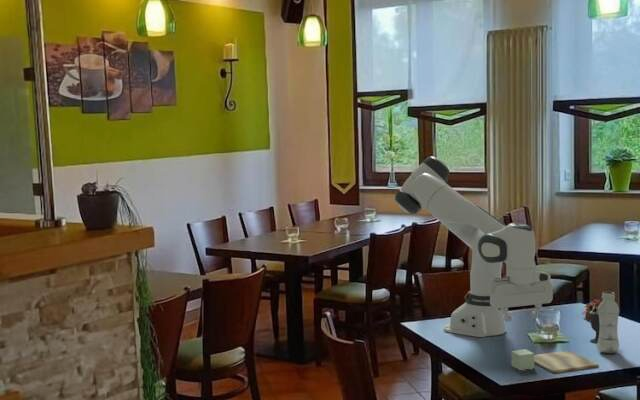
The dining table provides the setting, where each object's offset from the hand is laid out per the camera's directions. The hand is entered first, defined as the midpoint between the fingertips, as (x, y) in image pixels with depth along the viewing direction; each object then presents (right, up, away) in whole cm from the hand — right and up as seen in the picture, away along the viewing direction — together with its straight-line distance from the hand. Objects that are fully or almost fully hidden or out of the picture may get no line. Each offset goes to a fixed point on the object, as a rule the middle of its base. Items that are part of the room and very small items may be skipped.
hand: (521, 319), depth 241 cm
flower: (+42, -9, +56) cm, 71 cm away
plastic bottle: (+32, -13, +13) cm, 37 cm away
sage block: (+1, -15, +1) cm, 15 cm away
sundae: (+33, -12, +26) cm, 44 cm away
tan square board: (+14, -14, +5) cm, 20 cm away
